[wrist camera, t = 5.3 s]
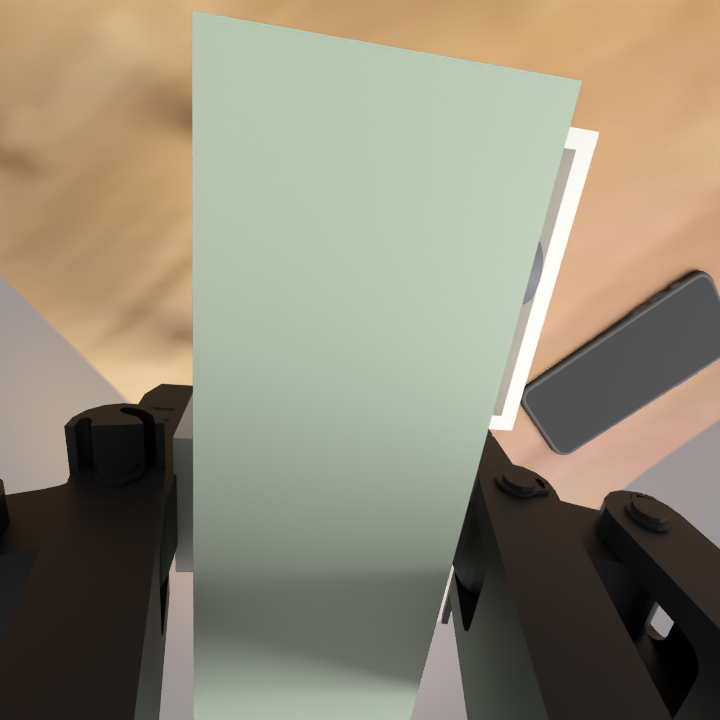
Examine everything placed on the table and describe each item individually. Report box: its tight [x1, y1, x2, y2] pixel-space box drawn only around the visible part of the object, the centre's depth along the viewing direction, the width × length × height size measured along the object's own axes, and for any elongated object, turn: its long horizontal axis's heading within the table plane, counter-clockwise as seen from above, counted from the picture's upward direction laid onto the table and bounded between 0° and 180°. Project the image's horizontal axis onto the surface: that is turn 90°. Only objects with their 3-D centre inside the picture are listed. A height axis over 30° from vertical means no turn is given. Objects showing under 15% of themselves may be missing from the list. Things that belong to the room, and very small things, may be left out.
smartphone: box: [520, 271, 720, 455], centre depth 35 cm, size 7×1×15 cm
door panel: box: [192, 11, 582, 720], centre depth 12 cm, size 13×4×12 cm, turn 173°
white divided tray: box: [489, 127, 599, 430], centre depth 29 cm, size 18×10×3 cm, turn 172°
